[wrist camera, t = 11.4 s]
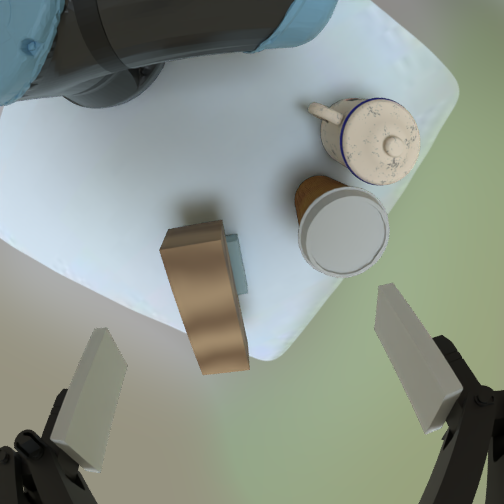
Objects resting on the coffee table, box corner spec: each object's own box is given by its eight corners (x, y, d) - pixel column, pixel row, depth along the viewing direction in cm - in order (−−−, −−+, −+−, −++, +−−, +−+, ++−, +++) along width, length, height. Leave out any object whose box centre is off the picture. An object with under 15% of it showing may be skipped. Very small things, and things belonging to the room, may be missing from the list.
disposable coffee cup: (304, 245, 43) (327, 297, 32) (267, 188, 39) (281, 226, 28) (364, 209, 41) (405, 250, 30) (332, 148, 37) (372, 171, 26)
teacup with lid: (395, 118, 35) (448, 131, 25) (366, 178, 39) (409, 209, 28) (314, 72, 32) (349, 63, 22) (283, 138, 36) (305, 156, 26)
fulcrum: (177, 244, 41) (170, 267, 36) (237, 234, 41) (238, 256, 36) (192, 293, 45) (187, 320, 40) (247, 285, 45) (249, 311, 40)
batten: (168, 229, 34) (159, 250, 30) (222, 219, 34) (220, 239, 29) (204, 348, 42) (202, 375, 38) (247, 342, 42) (249, 369, 38)
